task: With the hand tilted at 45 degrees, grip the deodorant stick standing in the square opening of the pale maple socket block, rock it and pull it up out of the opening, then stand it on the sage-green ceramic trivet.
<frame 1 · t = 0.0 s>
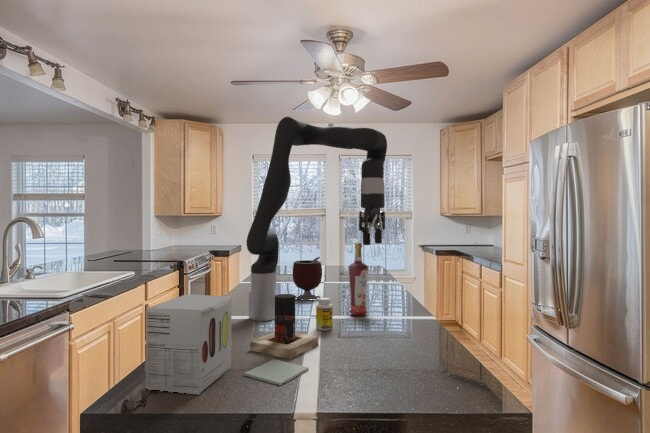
hand: (372, 244, 127), 29 cm above the countertop, tool pointing down, fingers open, 8 cm apart
deodorant: (284, 348, 117), resting in socket block
trivet: (277, 372, 98), on the countertop
socket block: (284, 347, 117), on the countertop
mate gourd: (308, 298, 189), on the countertop
supplement bottle: (324, 329, 137), on the countertop
liquor: (358, 315, 156), on the countertop
supplement box: (192, 378, 95), on the countertop
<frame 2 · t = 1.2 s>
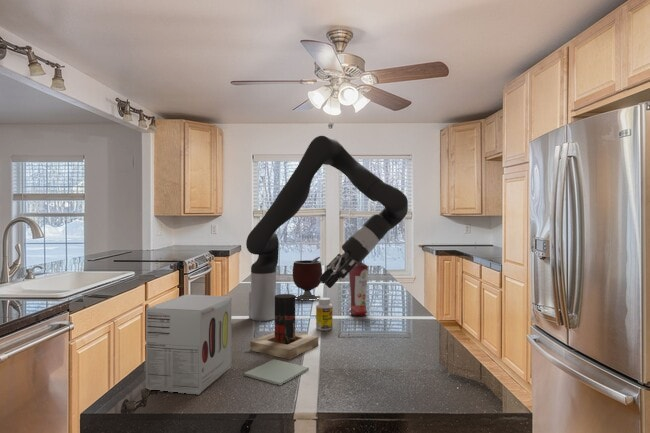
hand: (323, 283, 119), 18 cm above the countertop, tool tilted 45°, fingers open, 8 cm apart
nothing on the countertop moved.
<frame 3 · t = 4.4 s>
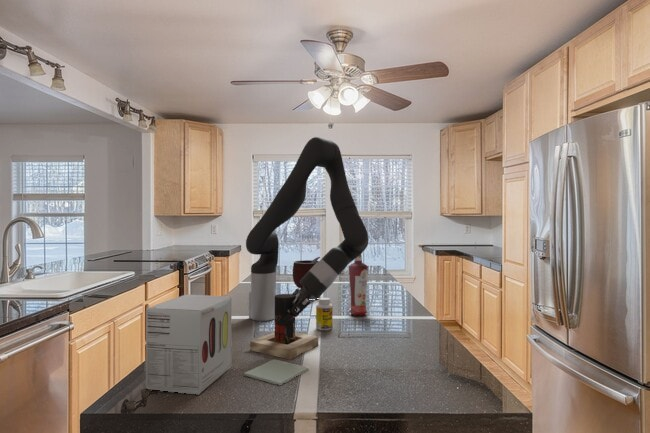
hand: (279, 321, 116), 8 cm above the countertop, tool tilted 45°, fingers closed on deodorant, 6 cm apart
deodorant: (284, 348, 117), resting in socket block, touching gripper
everything else where it was.
when the fingers open (9 cm above the countertop, at t = 10.7 s): deodorant stays where it is, resting on trivet.
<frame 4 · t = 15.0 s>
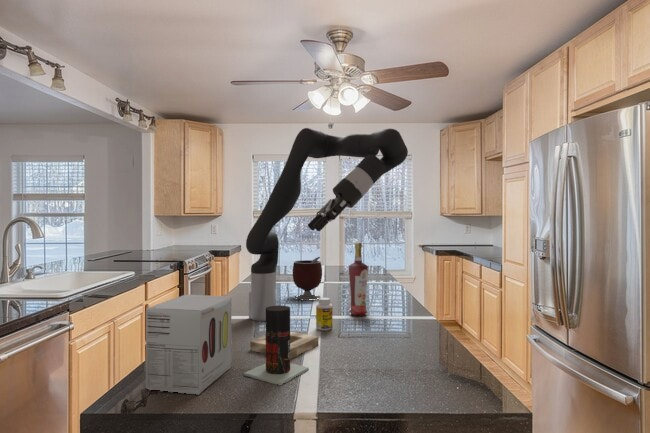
hand: (312, 228, 109), 35 cm above the countertop, tool tilted 45°, fingers open, 8 cm apart
deodorant: (278, 370, 98), resting on trivet
everything else where it was.
at the end: deodorant inside the target area on the trivet (0.3 cm from its centre), point 0.4 cm above the trivet's base; deodorant tilted 0°; the gripper is holding nothing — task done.
